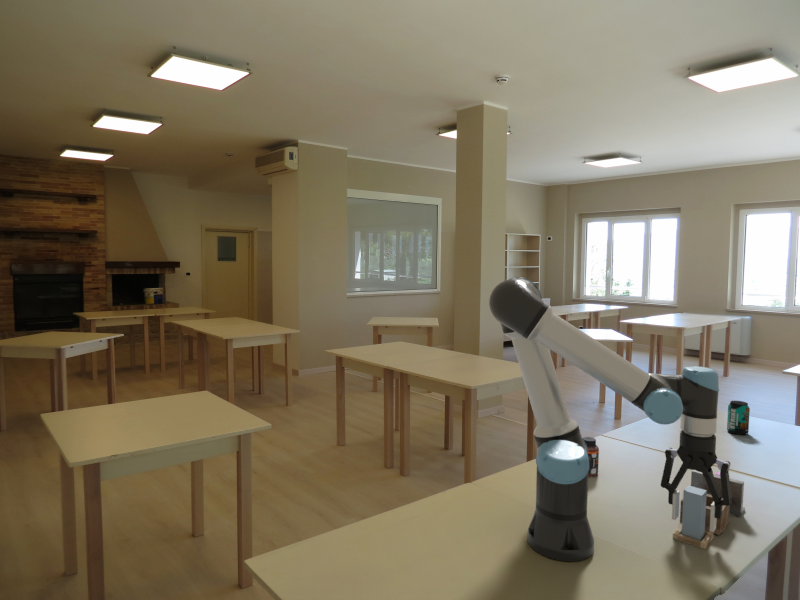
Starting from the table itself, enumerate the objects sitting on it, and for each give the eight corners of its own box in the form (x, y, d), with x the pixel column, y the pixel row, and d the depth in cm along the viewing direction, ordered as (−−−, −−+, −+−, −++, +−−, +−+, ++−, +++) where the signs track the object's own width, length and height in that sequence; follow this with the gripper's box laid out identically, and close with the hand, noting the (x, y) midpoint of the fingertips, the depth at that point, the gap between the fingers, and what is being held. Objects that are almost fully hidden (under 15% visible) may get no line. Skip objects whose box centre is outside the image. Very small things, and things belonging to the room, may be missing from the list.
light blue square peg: (699, 544, 124) (702, 495, 123) (681, 538, 127) (683, 490, 126) (704, 537, 127) (706, 490, 126) (686, 531, 130) (688, 485, 129)
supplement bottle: (599, 478, 161) (600, 442, 160) (579, 476, 163) (580, 441, 162) (596, 470, 167) (597, 436, 166) (576, 469, 168) (577, 434, 167)
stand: (705, 549, 122) (705, 544, 122) (672, 538, 127) (673, 533, 127) (713, 537, 127) (713, 533, 127) (681, 527, 132) (681, 522, 132)
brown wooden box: (719, 535, 128) (721, 512, 127) (679, 522, 134) (680, 500, 134) (728, 522, 134) (729, 500, 134) (690, 510, 140) (691, 489, 140)
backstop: (740, 517, 137) (742, 484, 136) (690, 502, 145) (691, 471, 145) (744, 510, 141) (746, 478, 140) (695, 496, 149) (696, 465, 148)
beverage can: (752, 435, 200) (754, 405, 199) (734, 435, 200) (735, 405, 199) (740, 429, 207) (742, 400, 206) (722, 429, 207) (724, 400, 206)
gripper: (751, 438, 120) (746, 533, 122) (658, 419, 135) (654, 504, 136) (744, 446, 115) (739, 545, 117) (647, 425, 129) (644, 514, 131)
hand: (693, 523), depth 127 cm, fingers open, 8 cm apart
